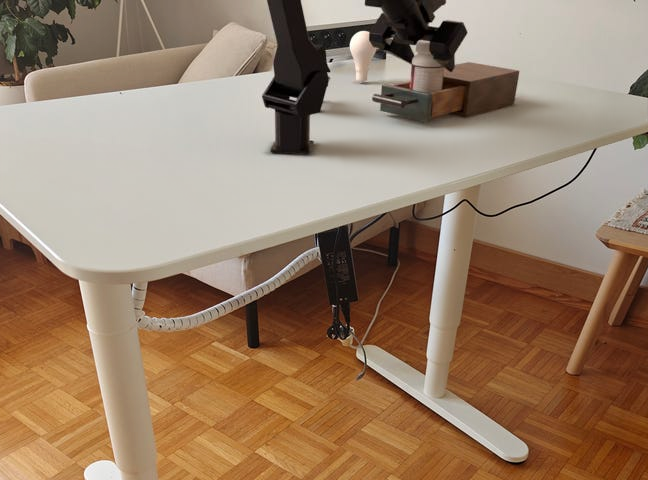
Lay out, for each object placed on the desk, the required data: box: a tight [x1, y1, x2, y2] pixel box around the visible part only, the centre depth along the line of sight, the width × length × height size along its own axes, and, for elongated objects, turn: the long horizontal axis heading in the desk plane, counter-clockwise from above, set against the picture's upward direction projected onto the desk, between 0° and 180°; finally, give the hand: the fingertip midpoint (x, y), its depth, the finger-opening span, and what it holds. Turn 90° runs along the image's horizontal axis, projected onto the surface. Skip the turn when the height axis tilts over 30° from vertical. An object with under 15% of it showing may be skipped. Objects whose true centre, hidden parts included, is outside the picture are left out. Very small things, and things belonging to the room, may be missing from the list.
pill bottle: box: [409, 40, 444, 94], centre depth 129 cm, size 6×6×11 cm
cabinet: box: [443, 61, 520, 118], centre depth 139 cm, size 17×13×7 cm
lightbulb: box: [349, 30, 378, 84], centre depth 156 cm, size 6×6×11 cm
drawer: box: [371, 80, 467, 123], centre depth 131 cm, size 20×11×5 cm, turn 132°
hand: (433, 66), depth 129 cm, fingers open, 9 cm apart
